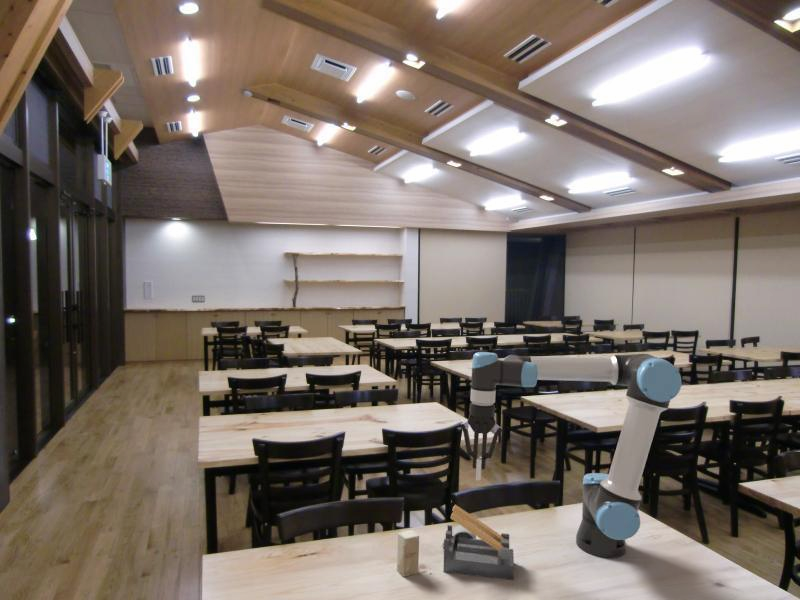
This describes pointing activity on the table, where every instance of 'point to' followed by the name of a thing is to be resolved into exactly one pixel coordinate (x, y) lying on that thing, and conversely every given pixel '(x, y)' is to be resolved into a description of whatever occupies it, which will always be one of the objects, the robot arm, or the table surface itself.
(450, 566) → the gray cradle frame
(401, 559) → the box
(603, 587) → the table surface
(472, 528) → the strap near
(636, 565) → the table surface
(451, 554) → the lug bar
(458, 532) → the ceramic mug
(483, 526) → the orange long bar
